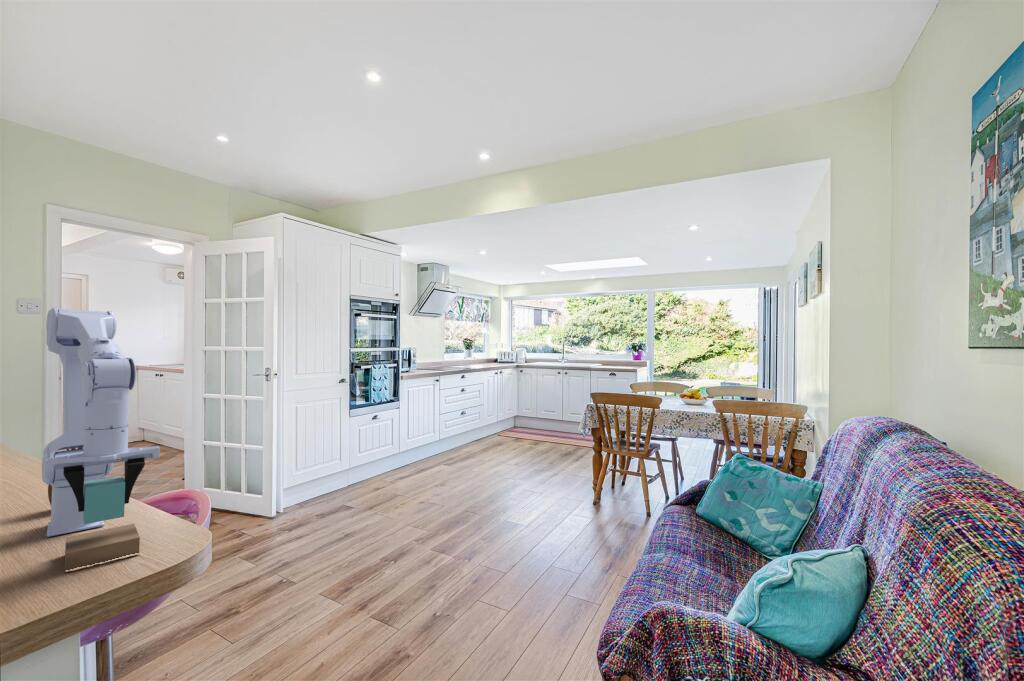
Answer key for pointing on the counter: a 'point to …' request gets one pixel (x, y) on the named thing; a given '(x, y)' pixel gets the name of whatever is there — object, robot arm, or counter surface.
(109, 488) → the teal block
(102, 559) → the walnut plinth
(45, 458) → the robot arm
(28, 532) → the counter surface
